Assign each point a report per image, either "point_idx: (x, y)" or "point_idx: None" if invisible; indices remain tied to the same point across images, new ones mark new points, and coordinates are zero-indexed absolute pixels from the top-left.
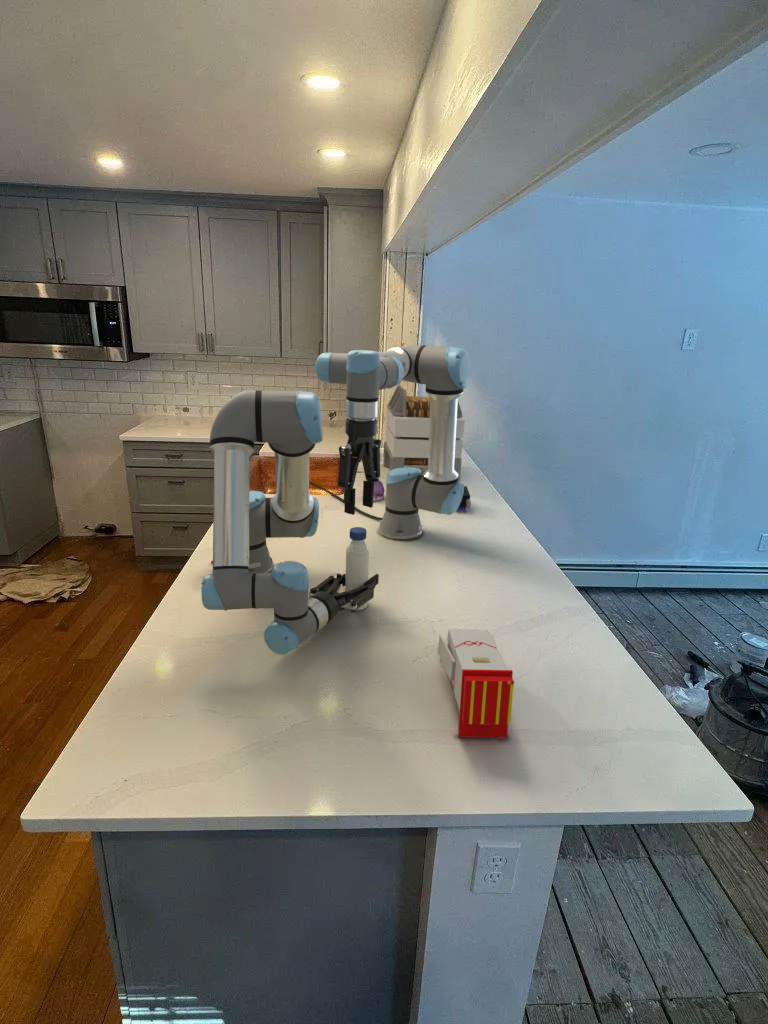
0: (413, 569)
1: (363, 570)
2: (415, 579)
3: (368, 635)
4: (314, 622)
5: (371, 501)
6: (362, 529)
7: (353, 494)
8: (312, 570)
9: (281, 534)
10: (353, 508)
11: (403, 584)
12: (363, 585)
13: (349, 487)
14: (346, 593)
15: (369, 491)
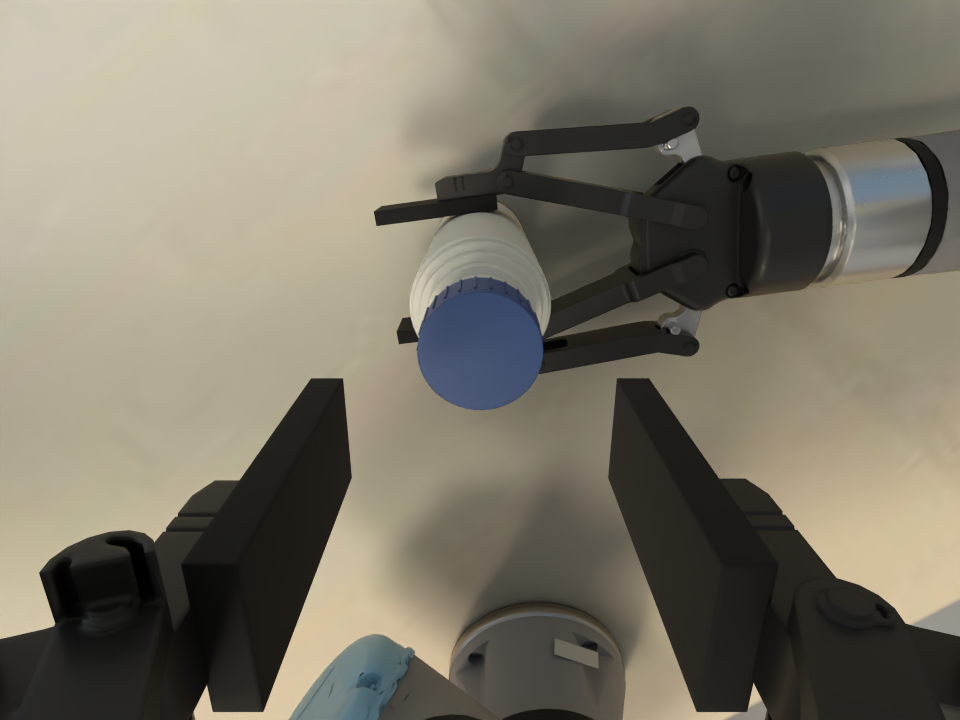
0: (57, 251)
1: (498, 224)
2: (122, 185)
3: (641, 46)
4: (935, 139)
5: (319, 408)
6: (449, 335)
7: (736, 509)
8: (386, 530)
9: (494, 714)
10: (661, 407)
11: (202, 199)
12: (494, 212)
13: (893, 625)
14: (648, 196)
15: (292, 505)
